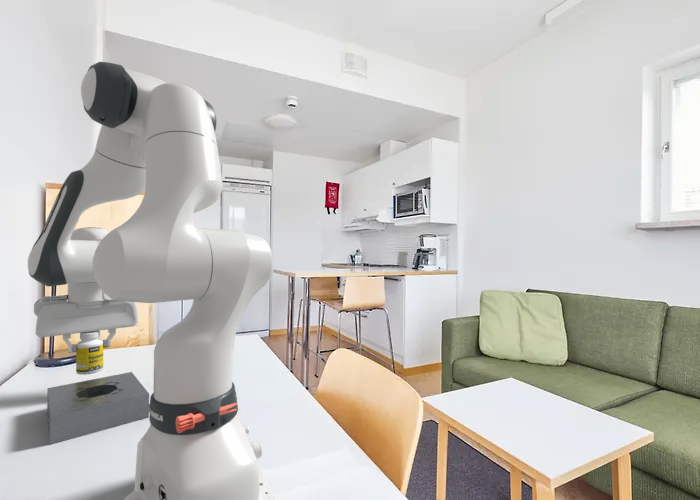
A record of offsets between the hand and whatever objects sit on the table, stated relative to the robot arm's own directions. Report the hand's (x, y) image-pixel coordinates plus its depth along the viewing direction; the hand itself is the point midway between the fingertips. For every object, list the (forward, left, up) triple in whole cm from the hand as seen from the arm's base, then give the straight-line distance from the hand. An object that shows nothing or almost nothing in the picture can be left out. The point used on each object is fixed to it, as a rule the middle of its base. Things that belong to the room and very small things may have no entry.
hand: (90, 349), depth 87 cm
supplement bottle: (0, 0, -6) cm, 6 cm away
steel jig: (-14, 0, -11) cm, 18 cm away
